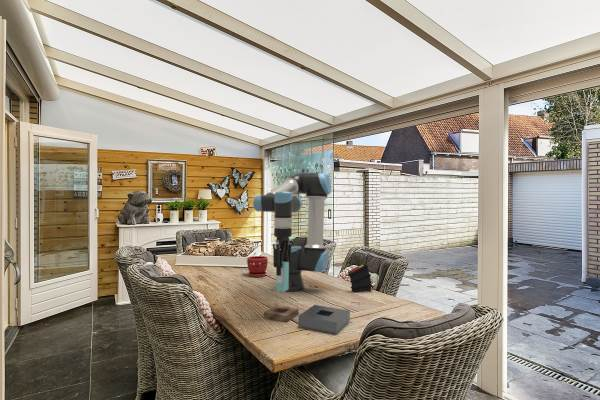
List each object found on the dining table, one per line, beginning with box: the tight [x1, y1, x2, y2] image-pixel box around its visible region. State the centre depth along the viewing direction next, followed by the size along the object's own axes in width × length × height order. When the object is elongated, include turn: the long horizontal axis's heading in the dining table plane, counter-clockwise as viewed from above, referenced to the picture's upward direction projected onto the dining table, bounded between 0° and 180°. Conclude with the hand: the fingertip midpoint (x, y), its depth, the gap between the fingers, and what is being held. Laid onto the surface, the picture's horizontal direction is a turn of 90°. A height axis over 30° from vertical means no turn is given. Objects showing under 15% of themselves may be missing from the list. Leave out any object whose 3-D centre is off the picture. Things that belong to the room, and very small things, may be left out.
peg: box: [275, 261, 289, 293], centre depth 155 cm, size 4×4×12 cm
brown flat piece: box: [263, 304, 300, 323], centre depth 155 cm, size 11×11×2 cm
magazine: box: [347, 263, 373, 293], centre depth 198 cm, size 4×13×15 cm, turn 107°
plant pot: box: [246, 255, 269, 278], centre depth 231 cm, size 13×13×12 cm
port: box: [297, 304, 351, 335], centre depth 146 cm, size 16×16×4 cm
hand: (282, 281), depth 155 cm, fingers closed on peg, 4 cm apart
